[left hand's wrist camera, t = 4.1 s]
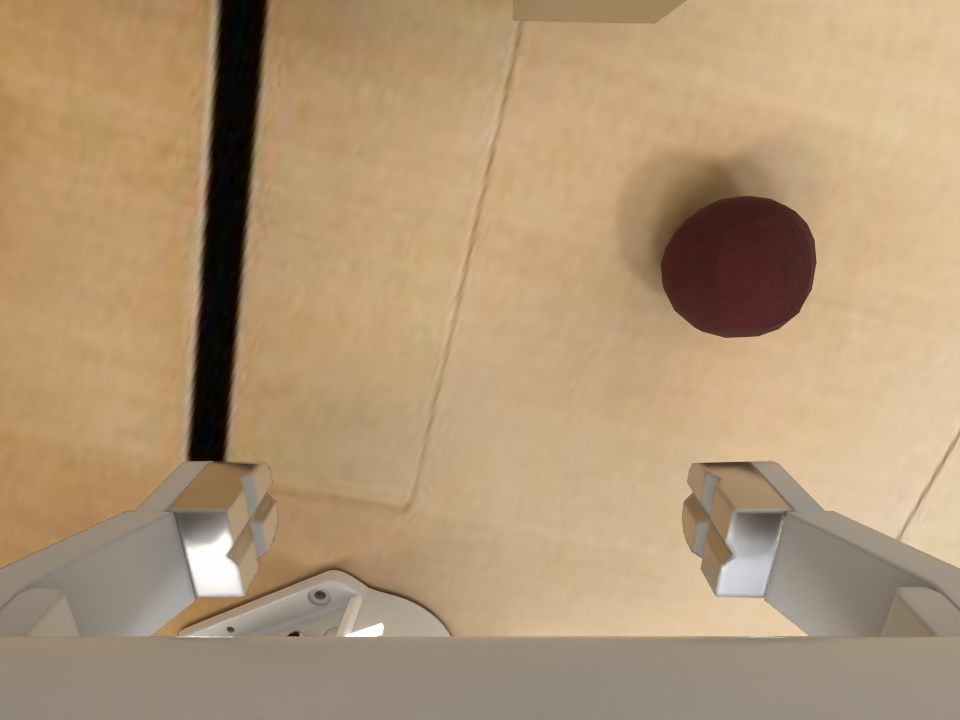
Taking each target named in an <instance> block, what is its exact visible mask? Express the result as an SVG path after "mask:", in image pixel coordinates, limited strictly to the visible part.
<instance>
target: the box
mask: <svg viewBox="0 0 960 720" xmlns="http://www.w3.org/2000/svg"><path fill="white" fill-rule="evenodd" d="M685 1H686V0H513V20H514V21H558V22H605V23H651V24H654V23H656V22H658V21H659V20H660V19H662V18H663V17H664V16H666V15H667V14H669V13H670V12H671V11H673V10H674V9H675V8H677V7H678V6H680V5H681V4H682V3H684V2H685Z"/></svg>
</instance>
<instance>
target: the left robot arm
mask: <svg viewBox="0 0 960 720" xmlns="http://www.w3.org/2000/svg"><path fill="white" fill-rule="evenodd" d="M272 483H273V480H272V475H271V470H270V467H269V466H268V465H267V464H266V463H265V462H222V461H215V462H212V461H189V462H184V463H182V464H181V465H180V466H179V467H178V468H177V469H176V470H175V471H174V472H173V473H172V474H171V475H170V476H169V477H168V478H167V479H166V480H165V481H164V482H163V483H162V484H161V485H160V486H159V487H158V488H157V489H156V490H155V491H154V492H153V493H152V494H151V495H150V496H149V497H148V498H147V499H146V500H145V501H144V502H143V503H142V504H141V505H140V506H139V507H138V508H137V509H136V511H126V512H124V513H121V514H119V515H117V516H115V517H113V518H110V519H108V520H106V521H104V522H102V523H99V524H97V525H95V526H93V527H91V528H88V529H86V530H84V531H82V532H80V533H77V534H75V535H73V536H71V537H69V538H66V539H64V540H62V541H60V542H58V543H55V544H53V545H51V546H49V547H46V548H44V549H42V550H40V551H38V552H35V553H33V554H31V555H29V556H27V557H24V558H22V559H20V560H18V561H16V562H13V563H11V564H9V565H7V566H5V567H2V568H0V720H960V569H959V568H957V567H955V566H953V565H951V564H948V563H946V562H944V561H942V560H940V559H937V558H935V557H933V556H931V555H929V554H926V553H924V552H922V551H920V550H918V549H915V548H913V547H911V546H909V545H907V544H905V543H902V542H900V541H898V540H896V539H894V538H891V537H889V536H887V535H885V534H883V533H880V532H878V531H876V530H874V529H872V528H869V527H867V526H865V525H863V524H861V523H858V522H856V521H854V520H852V519H850V518H847V517H845V516H843V515H841V514H839V513H836V512H834V511H825V510H824V509H823V508H822V507H821V506H820V505H819V504H818V503H817V502H816V501H815V500H814V499H813V498H812V497H811V496H810V495H809V494H808V493H807V492H806V491H805V490H804V489H803V488H802V487H801V486H800V485H799V484H798V483H797V482H796V481H795V480H794V479H793V478H792V477H791V476H790V475H789V474H788V473H787V472H786V471H785V470H784V469H783V468H782V467H781V466H780V465H779V464H778V463H776V462H773V461H753V462H720V463H693V464H692V466H691V468H690V470H689V474H688V480H687V483H688V484H689V486H690V488H691V489H692V491H693V493H692V494H691V495H690V496H689V497H688V498H687V499H686V500H685V501H684V504H683V512H682V523H683V532H684V535H685V539H686V542H687V544H688V546H689V548H690V550H691V551H692V552H693V553H695V554H696V555H698V556H699V557H701V558H702V564H701V570H702V572H703V574H704V576H705V578H706V579H707V581H708V583H709V585H710V587H711V589H712V590H713V592H714V594H715V596H716V597H749V598H765V599H764V600H765V601H766V602H767V603H769V604H770V605H771V606H772V607H774V608H775V609H776V610H777V611H779V612H780V613H781V614H782V615H784V616H785V617H786V618H787V619H789V620H790V621H791V622H792V623H794V624H795V625H796V626H798V627H799V628H800V629H801V630H803V631H804V632H805V633H806V634H808V635H809V636H735V637H451V636H450V634H449V632H448V631H447V629H446V628H445V627H444V625H443V624H442V623H441V622H440V621H439V620H438V619H437V618H436V617H435V616H434V615H432V614H431V613H430V612H428V611H427V610H426V609H424V608H422V607H421V606H419V605H417V604H415V603H413V602H411V601H409V600H407V599H404V598H401V597H398V596H395V595H391V594H388V593H384V592H380V591H377V590H374V589H371V588H369V587H367V586H366V585H364V584H363V583H362V582H360V581H359V580H357V579H356V578H354V577H352V576H351V575H349V574H347V573H345V572H342V571H339V570H330V571H326V572H324V573H321V574H319V575H316V576H314V577H311V578H309V579H306V580H304V581H301V582H299V583H296V584H294V585H291V586H289V587H286V588H284V589H281V590H279V591H276V592H274V593H271V594H269V595H266V596H264V597H261V598H259V599H256V600H254V601H251V602H249V603H246V604H244V605H241V606H239V607H236V608H234V609H231V610H229V611H226V612H224V613H221V614H219V615H216V616H214V617H211V618H209V619H206V620H204V621H201V622H199V623H196V624H194V625H192V626H189V627H187V628H185V629H183V630H181V631H180V633H179V635H178V636H151V635H153V634H154V633H155V632H156V631H158V630H159V629H160V628H161V627H163V626H164V625H165V624H166V623H168V622H169V621H170V620H171V619H173V618H174V617H175V616H177V615H178V614H179V613H180V612H182V611H183V610H184V609H185V608H187V607H188V606H189V605H190V604H192V603H193V602H194V601H195V598H210V597H244V596H245V594H246V592H247V591H248V589H249V587H250V585H251V583H252V581H253V579H254V578H255V576H256V574H257V572H258V570H259V564H258V558H259V557H261V556H262V555H264V554H265V553H267V552H268V551H269V550H270V548H271V546H272V544H273V542H274V539H275V535H276V530H277V526H278V511H277V504H276V501H275V500H274V499H273V498H272V497H271V496H270V495H269V494H268V493H267V491H268V489H269V488H270V486H271V484H272ZM319 591H322V592H319ZM323 592H324V593H323Z"/></svg>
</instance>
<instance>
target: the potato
mask: <svg viewBox="0 0 960 720" xmlns="http://www.w3.org/2000/svg"><path fill="white" fill-rule="evenodd" d="M815 267H816V252H815V241H814V238H813V236H812V234H811V231H810V229H809V227H808V225H807V223H806V222H805V221H804V220H803V219H802V218H801V217H800V216H799V215H798V214H797V213H796V212H795V211H794V210H792V209H790V208H788V207H787V206H785V205H783V204H780V203H778V202H776V201H774V200H772V199H768V198H760V197H753V196H742V197H735V198H728V199H722V200H719V201H716V202H714V203H712V204H710V205H708V206H706V207H704V208H702V209H700V210H699V211H697V212H696V213H695V214H694V215H692V216H691V217H690V218H689V219H687V220H686V221H685V222H684V224H683V225H682V226H681V227H680V228H679V229H678V230H677V232H676V233H675V234H674V235H673V237H672V239H671V240H670V242H669V244H668V245H667V247H666V249H665V252H664V256H663V259H662V263H661V270H662V282H663V287H664V290H665V292H666V294H667V296H668V298H669V300H670V302H671V304H672V306H673V308H674V310H675V311H676V312H677V313H678V314H679V315H681V316H682V317H683V318H684V319H685V320H687V321H688V322H689V323H690V324H691V325H692V326H694V327H695V328H697V329H699V330H701V331H703V332H706V333H710V334H714V335H717V336H721V337H725V338H731V337H754V336H760V335H763V334H766V333H769V332H772V331H774V330H777V329H779V328H781V327H782V326H783V325H784V324H786V323H787V322H788V321H789V320H790V319H792V318H793V317H794V316H795V315H797V314H798V313H799V312H800V310H801V307H802V305H803V304H804V302H805V300H806V298H807V297H808V295H809V293H810V291H811V290H812V284H813V279H814V273H815Z"/></svg>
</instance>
